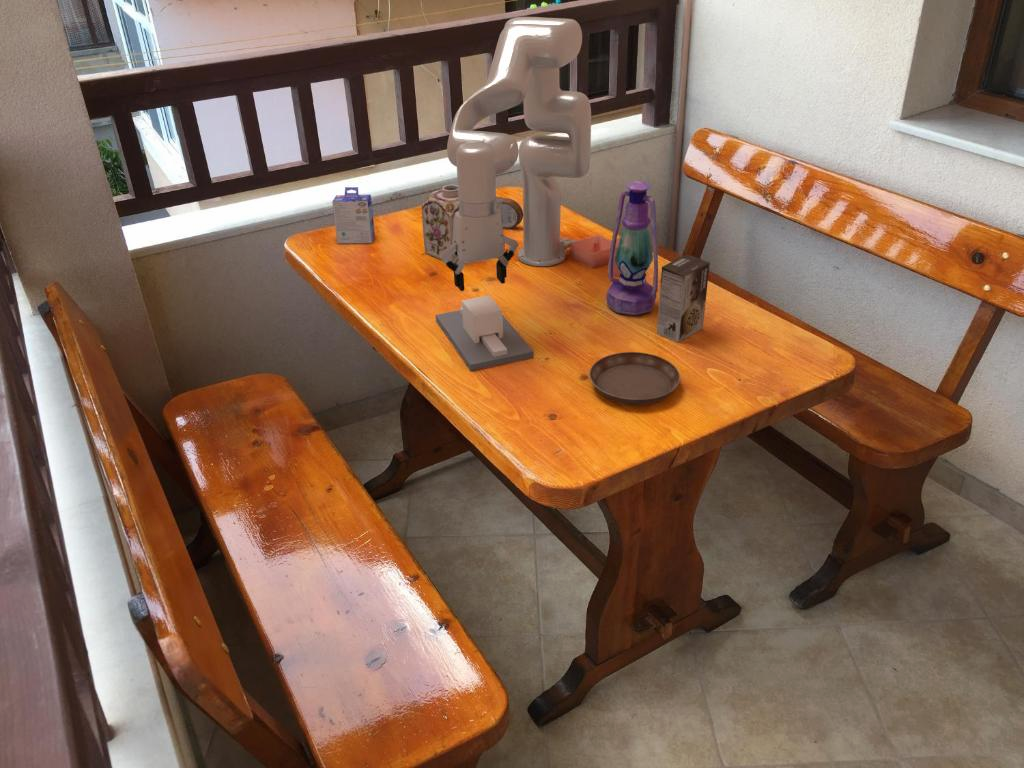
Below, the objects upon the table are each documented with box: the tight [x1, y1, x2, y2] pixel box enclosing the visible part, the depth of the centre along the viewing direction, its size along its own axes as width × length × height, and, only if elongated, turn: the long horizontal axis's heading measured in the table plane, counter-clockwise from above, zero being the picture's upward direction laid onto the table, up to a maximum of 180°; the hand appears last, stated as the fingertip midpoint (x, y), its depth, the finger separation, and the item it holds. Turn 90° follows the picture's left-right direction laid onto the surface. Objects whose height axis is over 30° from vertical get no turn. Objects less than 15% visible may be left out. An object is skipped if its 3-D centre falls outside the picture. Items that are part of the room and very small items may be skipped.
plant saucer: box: [588, 351, 681, 406], centre depth 170 cm, size 18×18×3 cm
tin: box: [497, 197, 523, 230], centre depth 241 cm, size 15×3×8 cm, turn 66°
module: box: [461, 294, 504, 343], centre depth 186 cm, size 6×8×6 cm
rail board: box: [435, 306, 534, 372], centre depth 187 cm, size 14×24×3 cm, turn 22°
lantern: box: [606, 180, 659, 316], centre depth 192 cm, size 13×12×30 cm
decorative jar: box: [421, 184, 459, 263], centre depth 223 cm, size 12×12×18 cm
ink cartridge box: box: [331, 186, 376, 244], centre depth 232 cm, size 10×6×14 cm, turn 89°
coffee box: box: [656, 253, 711, 343], centre depth 185 cm, size 9×6×16 cm
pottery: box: [569, 234, 622, 278], centre depth 218 cm, size 18×10×10 cm, turn 34°
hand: (480, 284), depth 181 cm, fingers open, 8 cm apart
